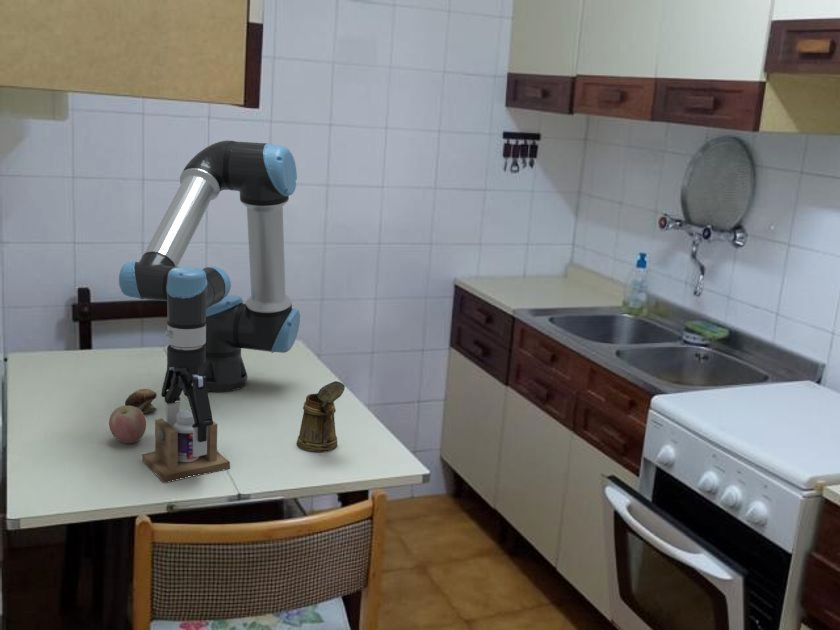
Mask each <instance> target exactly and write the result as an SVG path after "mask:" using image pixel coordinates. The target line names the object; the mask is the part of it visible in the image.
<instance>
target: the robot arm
mask: <svg viewBox="0 0 840 630" xmlns="http://www.w3.org/2000/svg"><path fill="white" fill-rule="evenodd" d="M297 175H298V173H297V166H296V162H295V158H294V156H293V153H292V152H291V150H290V149H289V148H287V147H286V146H284V145H281V144H280V145H279V144H273V143H270V142H269V143H265V142H248V141H235V140H222V141H218V142H215V143H212V144H210V145H208V146H207V147H205V148H203V149H202V150H200V151H199V152H198V153H196V154H195V155H194V156H193V157H192V158H191V159H190V160H189V162H188V163H187V164H186V165H185V166H184V168H183V170H182V172H181V174H180V176H179V184H180V186H179V187H178V189H177V191H176V193H175V195H174V196H173V199H172V201H171V202H170V204H169V206H168V207H167V209H166V211H165V213H164V215H163V217H162V219H161V221H160V223H159V224H158V227H157V228H156V230H155V232H154V234H153V236H152V238H151V239H150V241H149V244H148V245H147V247H146V248H145V251H144V253H143V254H142V256H141V258H140V259H139V261H136V260H134V261H128V262H126V263H124V264H123V265H122V266H121V269H120V271H119V276H118V285H119V288H120V292H121V293H122V294H123V295H125V296H127V297H130V298H135V299H140V300H152V301H163V302H166V303H167V304H166V305H167V306H166V308H167V310H166V311H167V313H166V314H167V319H166V325H167V329H166V331H165V336H166V337H167V338H166V339H167V341H166V342H167V344H168V346H167V347H166V363H167V364H166V372H165V376H164V380H163V384H162V387H161V394H160V396H161V397H162V398H164V403H166V404H165V421H166V422H167V423H168V424H169V425H171V426H172V427H173V426H174V424H175V423H176V422H177V420H176V417H177V413H178V412H181V409H180V408H181V407H180V406H181V405H180V404H181V402H180V401H181V397H180V396H181V395H182V392H183V394H184V397H186V398H187V400H188V403H189V407H190V411H192V415H193V418H194V422H195V424H193V425H192V427H193V456H194V457H197V456H202V455H207V426H210V425H213V421H214V419H213V415H212V409H211V404H210V398H209V393H210V392H211V393H212V392H213V393H214V392H215V393H222V392H223V393H225V392H232V391H237V390H240V389H242V388H244V387H246V386H247V384H248V373H247V369H246V366H245V364H244V361H243V358H242V349H245V350H251V351H252V350H253V351H262V352H268V353H269V352H270V353H271V354H273V353H281V354H282V353H283V354H286V353H288V352H290V351H291V350H292V348H293V346H294V345H295V342H296V339H297V336H298V333H299V328H300V322H301V313H300V311H299V309H296V308H293V306H292V305H293V304H292V303H293V302H292V299H291V297H290V296H288V295H287V293H286V274H285V273H286V272H285V271H286V269H285V267H286V266H285V264H286V263H285V241H284V239H285V238H284V211H283V210H284V208H283V207H284V206H285V205H286V204H287V203H288V202H289V199H290V197H289V196H292V195H294V193H295V192H296V191H295V190H296V188H297V178H298V176H297ZM222 191H235V192H237V191H238V192H239V201H240V203H242V204H243V205H244V206H245V207H246V216H247V217H246V219H247V230H248V231H247V236H248V237H247V239H248V257H249V258H248V259H249V276H250V277H249V279H250V296H249V297H248V298H247V299H246V300H245V303H244V300H243V297H242V296H241V295H235V294H229V293H230V291H231V288H232V281H231V279H230V276H229V274H228V273H227V272H226V270H224V269H223V268H221V267H218V266H207V267H204V268H199V267H195V266H179V264H180V263H181V261H182V258H183V257H184V255H185V252H186V251H187V248H188V246H189V244H190V243H191V240H192V238H193V236H194V235H195V233H196V230H197V229H198V227H199V225H200V222H201V221H202V218H203V216H204V215H205V213H206V210H207V208H208V207H209V205H210V203H211V201H213V200H215V199H216V198H217V197H219V194H220V192H222Z"/></svg>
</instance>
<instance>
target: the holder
mask: <svg viewBox="0 0 840 630" xmlns="http://www.w3.org/2000/svg"><path fill="white" fill-rule="evenodd" d="M217 448H218V423H216V422H215V421H214V420H213V425H210V426H207V455H202V456H199V458H198V459H197V460H195V461H193V462H178V431H177V430H175V429H174V428H173V427H172V426H171V425H169V424H168V423H167V422H166V419H165V420H164V418H157V419H154V451H151V452H146V453H143V454H141V461H142V462H143V464H145V465H146V466H147V467H148V469H150V470H151V471H152V472H153V473H154V472H155V473H156V474H157V475H158V476H159V477H160V478H161V479H162V480H163V483H165V482H166V483H169V482H168V481H170V482H173V481H172V480H175V481H177V480H176V479H179V480H181V479H180V478H184V479H186V478H185V477H188V476H193V475H198V474H202V475H205V474H204V473H207V474H210V473H209V472H211V473H214V472H213V471H216V472H220V471H224V470H223V469H225V470H228V469H227V468H229V469H230V468H231V462H230V460H229V459H227V458H226V457H225V456H224V455H222V454H221V453H220V452H218V449H217ZM219 470H220V471H219ZM155 473H154V474H155ZM156 474H155V475H156ZM157 475H156V476H157ZM158 476H157V477H158ZM198 476H199V475H198ZM159 477H158V478H159ZM193 477H194V476H193ZM160 478H159V479H160ZM161 479H160V480H161ZM162 480H161V481H162Z"/></svg>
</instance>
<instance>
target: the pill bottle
mask: <svg viewBox="0 0 840 630" xmlns="http://www.w3.org/2000/svg"><path fill="white" fill-rule="evenodd" d="M176 420H177V422H176V423H175V424H174V426H173V428H174V429H175V430H177V431H178V462H193V461H195V460H197V459H198V458H199V456H197V457H194V456H193V427H192V425H193V424H195V422H194V418H193V415H192V411H191V410H180V412H178V413H177V417H176Z"/></svg>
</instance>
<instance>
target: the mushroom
mask: <svg viewBox="0 0 840 630" xmlns="http://www.w3.org/2000/svg"><path fill="white" fill-rule="evenodd" d="M155 399H157V393H156V392H155V391H154V390H152V389H149V388H141V389H138V390H136V391H134V392H133V393H131V394H130V395H129V396H128V397H127V398H126V400H125V402H124V406H134V407H137V408H139V409H140V410H141V411H142V413H143V414H146V413H151V412H155V411H156V410H157V408H156V407H155V406H154V405H153V403H152V402H153V401H154V400H155Z"/></svg>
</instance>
